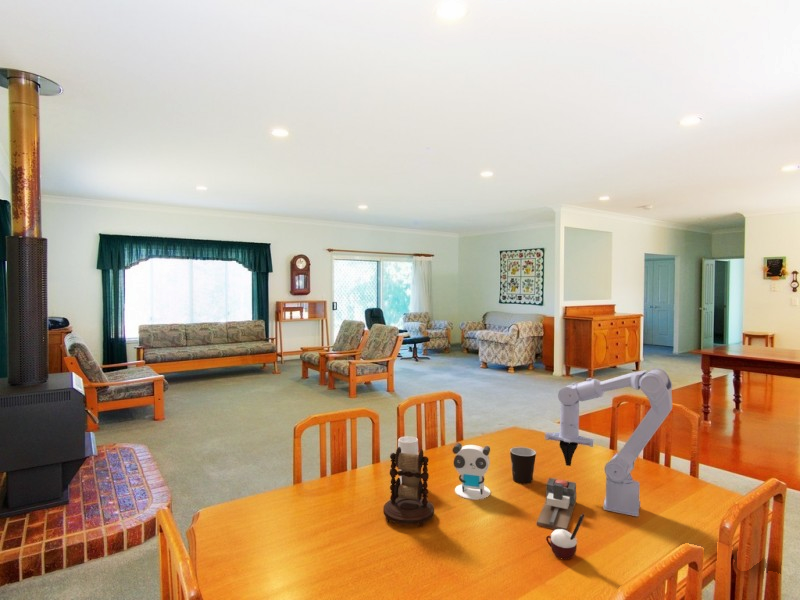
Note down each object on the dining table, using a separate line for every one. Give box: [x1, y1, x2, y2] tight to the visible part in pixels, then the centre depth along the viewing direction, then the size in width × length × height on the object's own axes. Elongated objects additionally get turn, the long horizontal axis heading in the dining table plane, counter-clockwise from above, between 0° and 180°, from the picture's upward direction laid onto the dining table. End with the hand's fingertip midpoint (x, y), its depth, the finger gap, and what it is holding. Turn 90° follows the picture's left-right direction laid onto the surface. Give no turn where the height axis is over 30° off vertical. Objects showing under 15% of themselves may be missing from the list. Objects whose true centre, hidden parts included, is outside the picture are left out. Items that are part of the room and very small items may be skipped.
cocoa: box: [545, 513, 585, 560], centre depth 119 cm, size 10×6×12 cm, turn 22°
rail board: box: [536, 477, 577, 531], centre depth 141 cm, size 8×20×6 cm, turn 153°
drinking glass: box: [397, 435, 419, 485], centre depth 161 cm, size 7×7×15 cm
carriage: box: [545, 482, 570, 509], centre depth 142 cm, size 6×4×6 cm, turn 63°
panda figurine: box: [452, 442, 491, 501], centre depth 155 cm, size 12×11×15 cm
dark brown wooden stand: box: [382, 446, 435, 528], centre depth 139 cm, size 15×15×20 cm
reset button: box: [555, 479, 568, 488], centre depth 148 cm, size 4×4×2 cm
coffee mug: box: [509, 446, 537, 485], centre depth 165 cm, size 12×9×10 cm
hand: (568, 464), depth 154 cm, fingers closed
